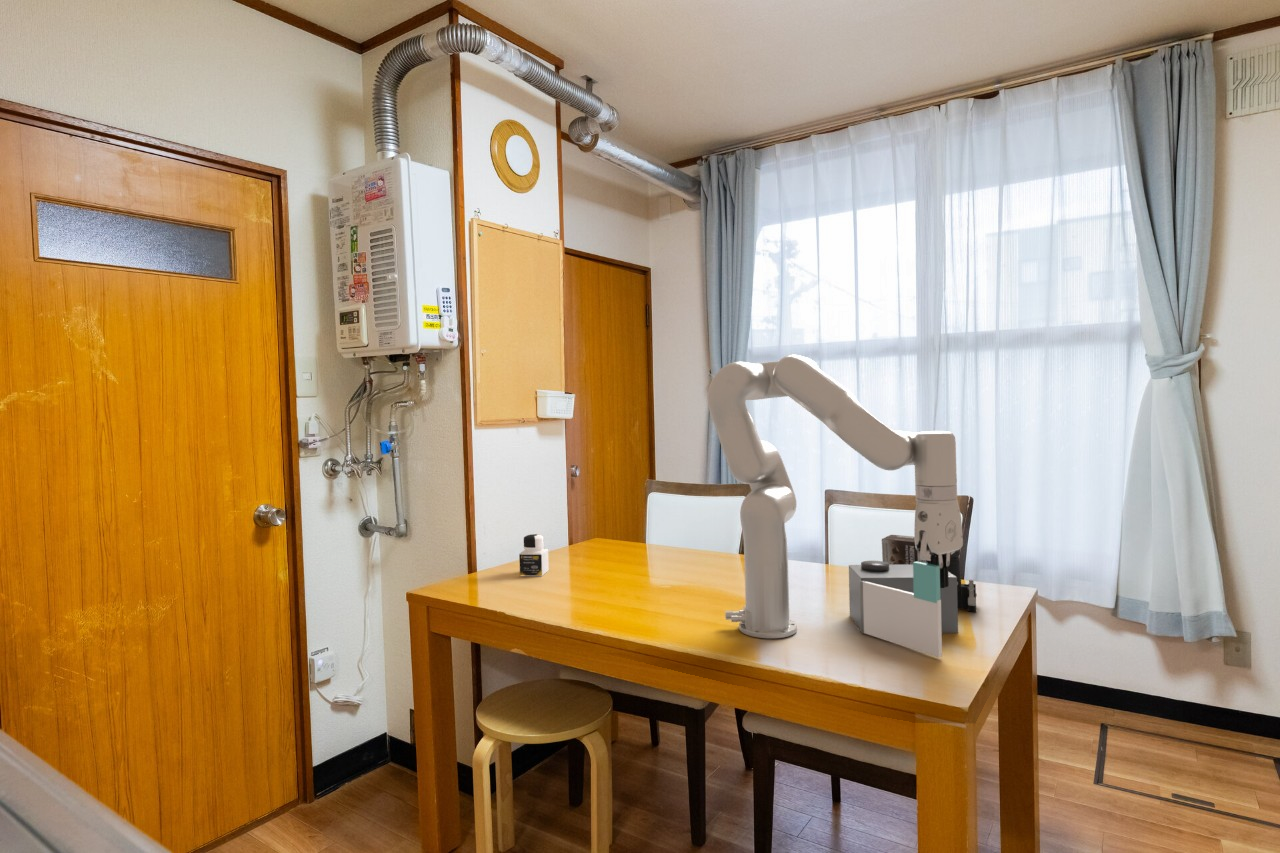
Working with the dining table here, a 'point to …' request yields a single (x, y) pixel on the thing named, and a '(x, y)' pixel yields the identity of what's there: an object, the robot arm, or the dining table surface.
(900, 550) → the coffee box
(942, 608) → the plain gray box
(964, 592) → the scope
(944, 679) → the dining table surface
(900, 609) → the side door
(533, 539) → the medicine bottle
